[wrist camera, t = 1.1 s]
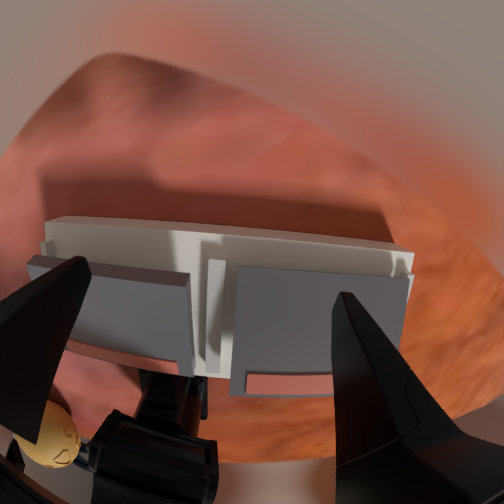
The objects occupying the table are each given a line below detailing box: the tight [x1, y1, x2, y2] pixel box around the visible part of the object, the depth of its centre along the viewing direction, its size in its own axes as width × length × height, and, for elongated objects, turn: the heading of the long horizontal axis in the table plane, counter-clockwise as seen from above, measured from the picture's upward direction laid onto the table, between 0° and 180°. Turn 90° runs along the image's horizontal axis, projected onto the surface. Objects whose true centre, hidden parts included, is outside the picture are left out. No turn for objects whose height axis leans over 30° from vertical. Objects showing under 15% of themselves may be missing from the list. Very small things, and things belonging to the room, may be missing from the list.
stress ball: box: [14, 400, 81, 468], centre depth 20 cm, size 10×10×10 cm
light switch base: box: [40, 216, 415, 379], centre depth 18 cm, size 11×27×4 cm, turn 85°
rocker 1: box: [26, 254, 196, 377], centre depth 15 cm, size 8×11×2 cm
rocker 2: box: [229, 265, 410, 398], centre depth 16 cm, size 8×11×2 cm
